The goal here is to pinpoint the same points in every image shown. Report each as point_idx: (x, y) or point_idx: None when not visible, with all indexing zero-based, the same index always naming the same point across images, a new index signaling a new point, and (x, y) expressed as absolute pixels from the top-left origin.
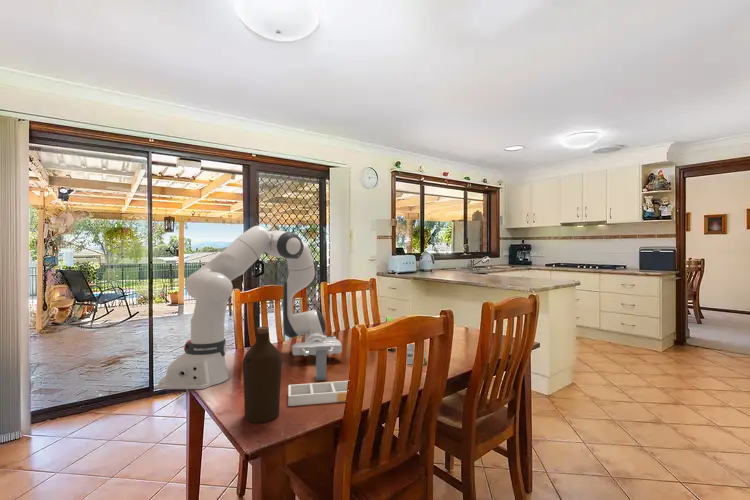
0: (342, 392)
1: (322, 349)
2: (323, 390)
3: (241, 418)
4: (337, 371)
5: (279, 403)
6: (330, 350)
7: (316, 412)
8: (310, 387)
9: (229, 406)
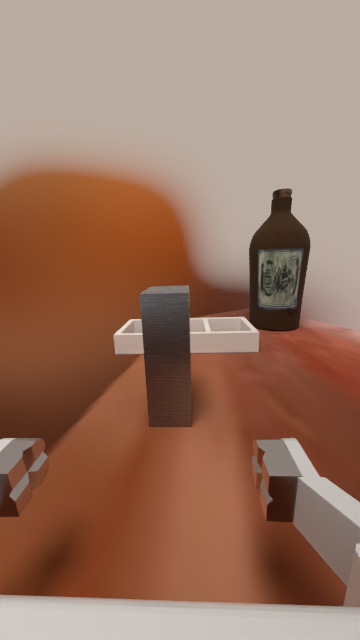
0: None
1: (165, 286)
2: None
3: (299, 323)
4: (65, 465)
5: (250, 309)
6: (18, 440)
7: None
8: (208, 326)
9: (351, 336)
